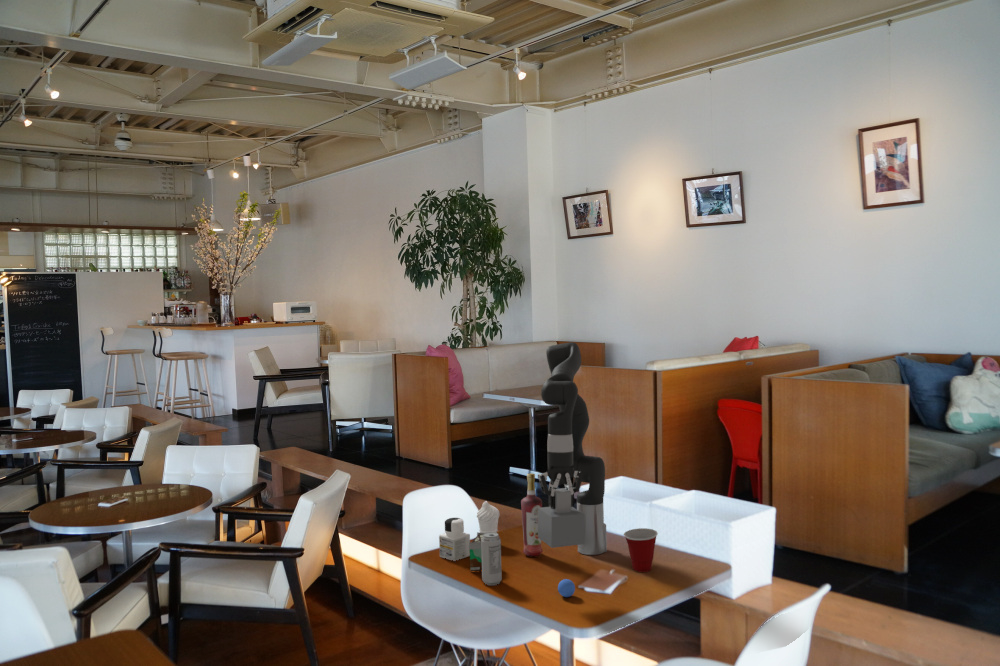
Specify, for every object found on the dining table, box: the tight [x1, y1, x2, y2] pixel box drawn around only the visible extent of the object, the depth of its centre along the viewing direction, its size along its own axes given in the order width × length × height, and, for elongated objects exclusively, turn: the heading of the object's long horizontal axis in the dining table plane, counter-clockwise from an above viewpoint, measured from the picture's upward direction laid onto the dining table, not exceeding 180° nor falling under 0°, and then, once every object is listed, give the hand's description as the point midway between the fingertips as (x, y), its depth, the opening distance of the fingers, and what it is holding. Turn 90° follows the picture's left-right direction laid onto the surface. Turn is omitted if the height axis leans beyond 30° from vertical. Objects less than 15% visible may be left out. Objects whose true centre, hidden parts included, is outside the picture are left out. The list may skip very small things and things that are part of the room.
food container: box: [469, 531, 485, 572], centre depth 241 cm, size 12×6×10 cm, turn 168°
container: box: [438, 517, 471, 562], centre depth 253 cm, size 8×8×13 cm
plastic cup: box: [623, 527, 659, 573], centre depth 235 cm, size 11×11×12 cm
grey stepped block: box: [538, 487, 584, 549], centre depth 214 cm, size 10×10×15 cm
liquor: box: [520, 473, 543, 557], centre depth 252 cm, size 7×7×28 cm
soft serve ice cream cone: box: [476, 500, 500, 533], centre depth 265 cm, size 8×8×16 cm
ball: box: [557, 578, 576, 598], centre depth 214 cm, size 5×5×5 cm
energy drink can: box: [481, 532, 503, 586], centre depth 227 cm, size 6×6×15 cm
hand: (560, 507), depth 213 cm, fingers closed on grey stepped block, 4 cm apart
